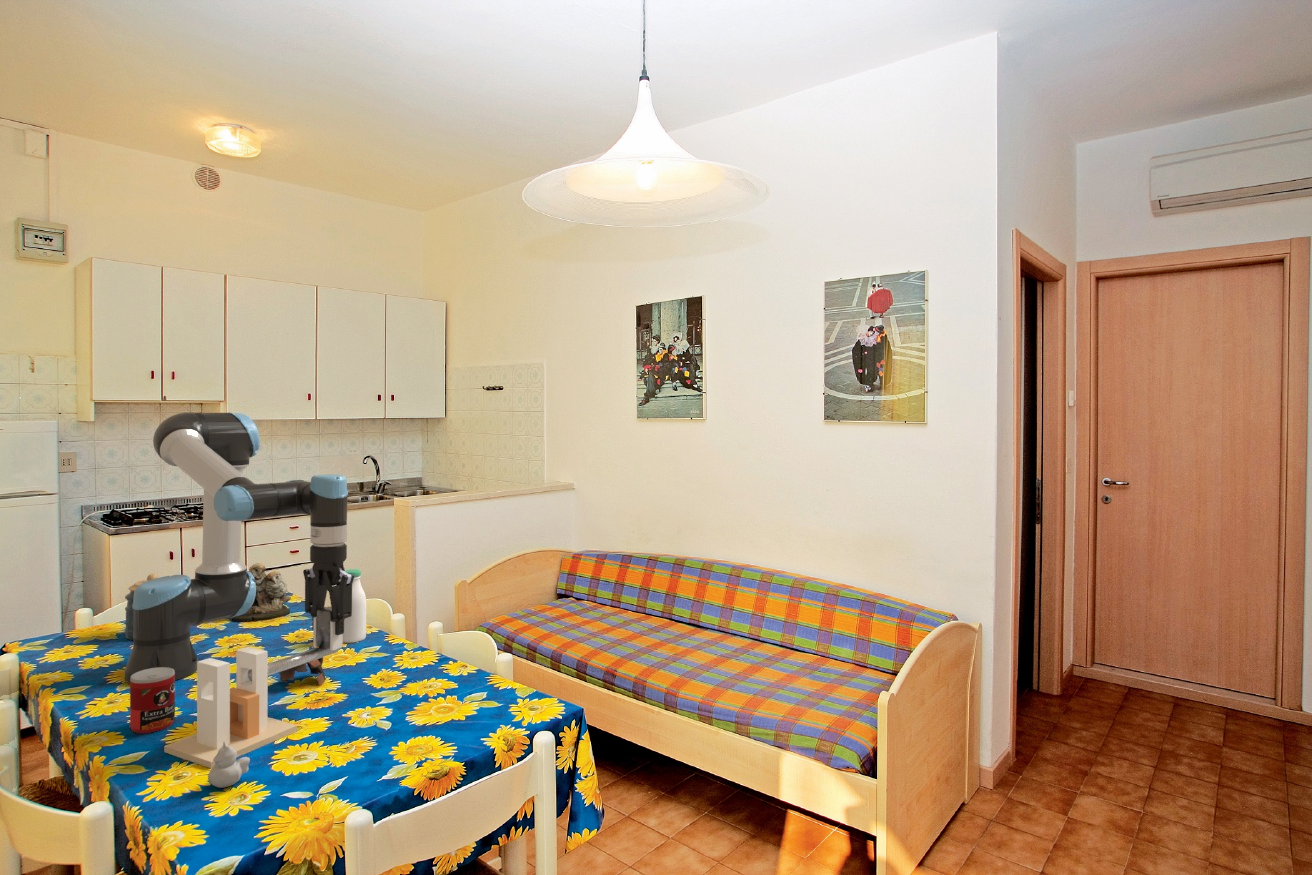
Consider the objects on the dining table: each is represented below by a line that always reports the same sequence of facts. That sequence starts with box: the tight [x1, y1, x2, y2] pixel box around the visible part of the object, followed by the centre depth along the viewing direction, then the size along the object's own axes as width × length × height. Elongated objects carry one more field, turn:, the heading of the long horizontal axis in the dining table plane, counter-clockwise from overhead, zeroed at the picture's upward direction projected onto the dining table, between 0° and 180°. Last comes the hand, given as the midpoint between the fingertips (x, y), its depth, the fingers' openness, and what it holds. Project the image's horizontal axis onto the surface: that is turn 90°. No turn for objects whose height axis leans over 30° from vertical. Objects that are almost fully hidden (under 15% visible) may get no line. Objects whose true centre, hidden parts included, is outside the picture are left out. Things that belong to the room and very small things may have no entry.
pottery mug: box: [278, 657, 327, 686], centre depth 178 cm, size 12×10×8 cm
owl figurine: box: [230, 562, 292, 623], centre depth 233 cm, size 18×12×17 cm, turn 131°
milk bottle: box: [343, 568, 367, 644], centre depth 211 cm, size 8×8×20 cm
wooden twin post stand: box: [163, 646, 298, 770], centre depth 145 cm, size 14×18×17 cm
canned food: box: [129, 667, 176, 734], centre depth 152 cm, size 8×8×11 cm
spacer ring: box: [230, 687, 259, 739], centre depth 146 cm, size 8×2×8 cm, turn 65°
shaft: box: [248, 606, 340, 681], centre depth 158 cm, size 21×5×10 cm, turn 155°
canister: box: [124, 573, 159, 641], centre depth 212 cm, size 13×13×18 cm
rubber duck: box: [207, 742, 251, 789], centre depth 129 cm, size 5×7×8 cm
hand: (327, 646), depth 165 cm, fingers closed on shaft, 5 cm apart
